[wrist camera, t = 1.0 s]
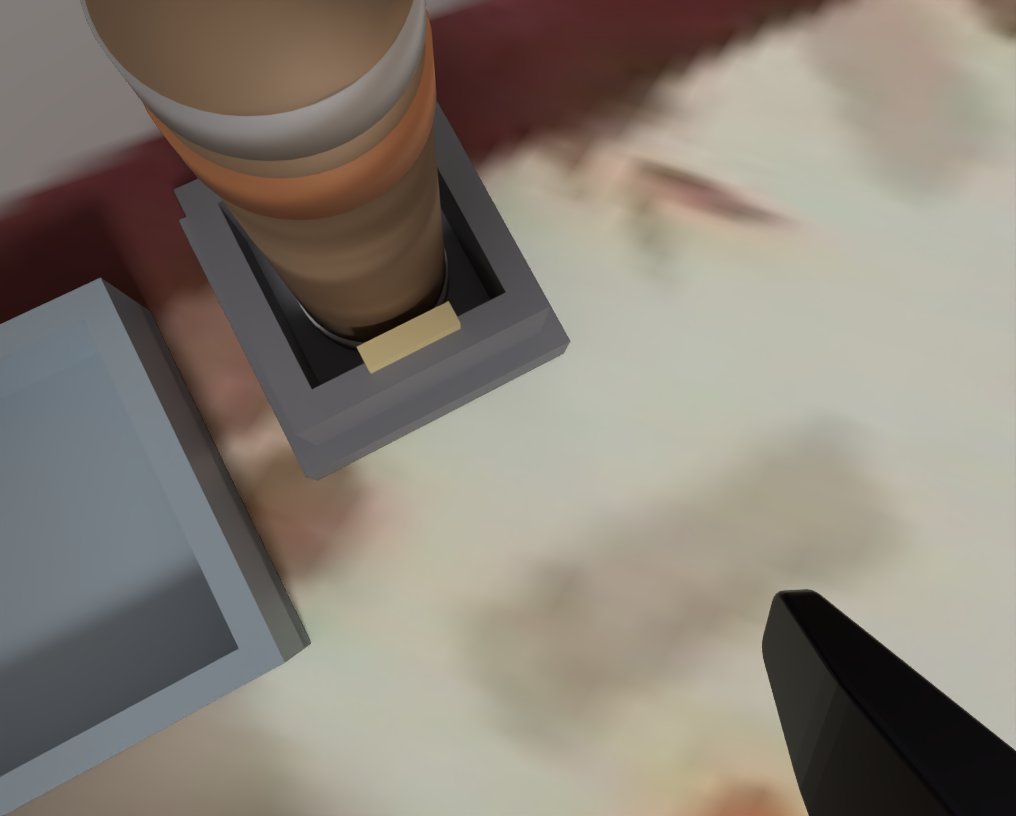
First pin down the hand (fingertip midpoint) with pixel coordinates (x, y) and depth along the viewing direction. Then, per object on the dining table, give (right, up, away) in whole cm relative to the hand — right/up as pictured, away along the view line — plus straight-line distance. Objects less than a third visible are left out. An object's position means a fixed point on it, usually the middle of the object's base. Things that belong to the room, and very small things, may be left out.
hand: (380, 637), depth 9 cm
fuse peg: (-2, +6, +13) cm, 14 cm away
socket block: (-2, +6, +14) cm, 15 cm away
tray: (-11, -2, +12) cm, 17 cm away
